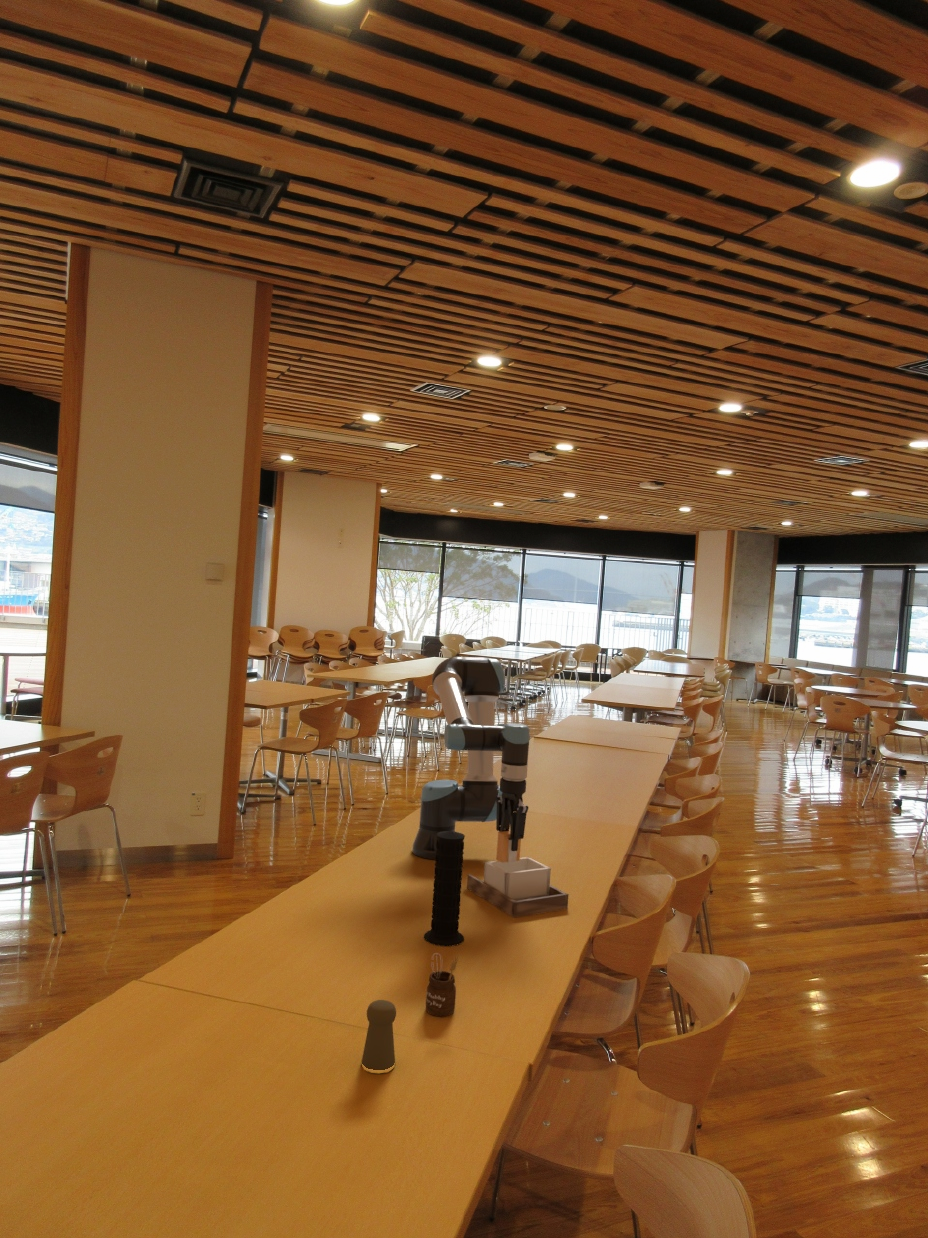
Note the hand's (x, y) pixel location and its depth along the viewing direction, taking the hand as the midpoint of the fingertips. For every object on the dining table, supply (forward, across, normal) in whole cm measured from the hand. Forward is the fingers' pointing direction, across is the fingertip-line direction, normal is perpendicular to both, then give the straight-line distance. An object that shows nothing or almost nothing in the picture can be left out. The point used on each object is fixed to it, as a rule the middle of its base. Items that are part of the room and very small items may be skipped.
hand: (507, 859), depth 247 cm
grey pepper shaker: (+10, +67, -72) cm, 99 cm away
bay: (+10, +5, 0) cm, 11 cm away
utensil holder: (+10, +54, -52) cm, 76 cm away
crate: (+8, +4, 0) cm, 9 cm away
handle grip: (+10, +22, -33) cm, 41 cm away
